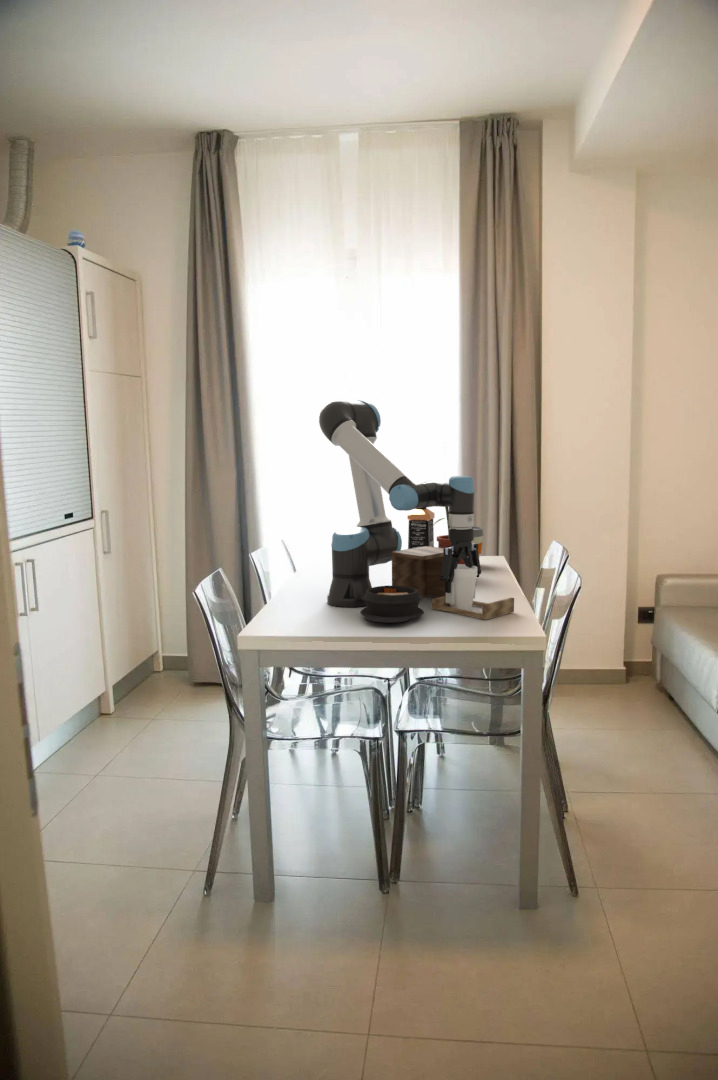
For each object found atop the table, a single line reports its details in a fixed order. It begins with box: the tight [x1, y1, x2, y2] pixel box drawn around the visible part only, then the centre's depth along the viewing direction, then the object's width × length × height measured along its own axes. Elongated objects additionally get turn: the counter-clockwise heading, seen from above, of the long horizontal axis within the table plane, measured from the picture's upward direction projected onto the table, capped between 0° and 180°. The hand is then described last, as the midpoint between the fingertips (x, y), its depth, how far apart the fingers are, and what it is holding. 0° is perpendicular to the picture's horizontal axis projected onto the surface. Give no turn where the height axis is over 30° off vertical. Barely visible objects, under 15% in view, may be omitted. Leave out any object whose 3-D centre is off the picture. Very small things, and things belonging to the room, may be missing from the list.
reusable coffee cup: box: [471, 526, 484, 557], centre depth 322 cm, size 12×13×15 cm
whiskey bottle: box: [407, 507, 435, 549], centre depth 332 cm, size 10×10×32 cm
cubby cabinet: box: [391, 546, 455, 598], centre depth 258 cm, size 16×13×16 cm
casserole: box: [360, 585, 425, 624], centre depth 236 cm, size 25×19×8 cm
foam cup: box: [449, 564, 477, 611], centre depth 247 cm, size 10×9×13 cm
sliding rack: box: [431, 596, 515, 621], centre depth 244 cm, size 14×20×4 cm
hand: (460, 600), depth 247 cm, fingers closed on foam cup, 9 cm apart
